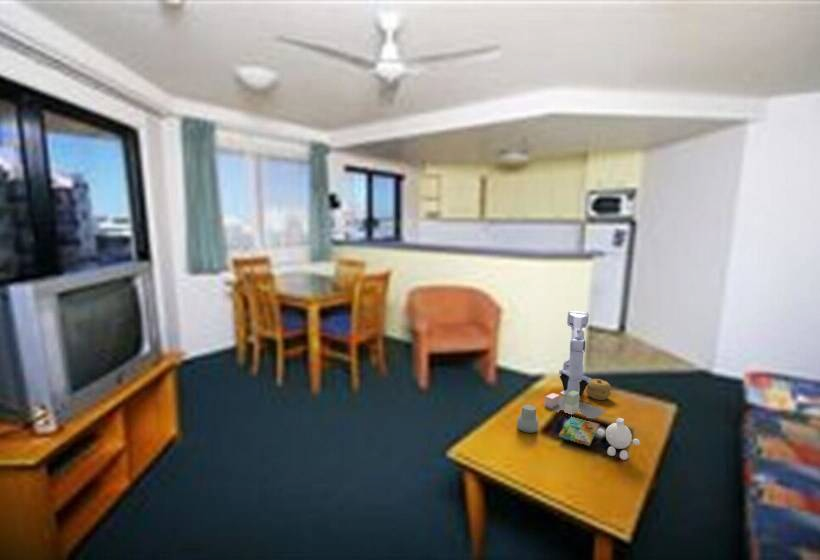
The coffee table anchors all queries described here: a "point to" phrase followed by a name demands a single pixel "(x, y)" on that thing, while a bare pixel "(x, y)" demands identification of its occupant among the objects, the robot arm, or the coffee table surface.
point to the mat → (584, 408)
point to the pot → (598, 389)
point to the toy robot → (618, 438)
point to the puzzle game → (579, 431)
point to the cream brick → (571, 408)
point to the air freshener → (528, 419)
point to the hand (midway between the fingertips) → (573, 392)
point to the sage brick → (572, 398)
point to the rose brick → (552, 400)
